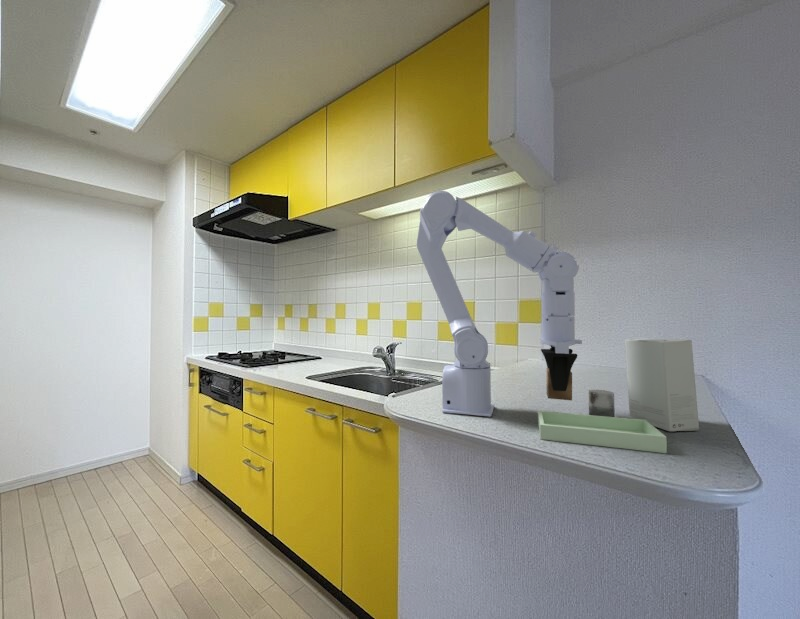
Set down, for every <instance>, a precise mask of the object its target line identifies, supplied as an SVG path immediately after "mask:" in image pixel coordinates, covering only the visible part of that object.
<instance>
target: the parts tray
mask: <svg viewBox="0 0 800 619" xmlns="http://www.w3.org/2000/svg"><path fill="white" fill-rule="evenodd" d="M537 426H538V431H539V432H538V433H539V437H540V440H544V441H554V442H562V443H563V442H564V443H573V444H582V445H588V446H589V445H590V446H599V447H601V446H602V447H608V448H616V449H617V448H618V449H625V450H626V449H627V450H634V451H635V450H636V451H643V452H654V453H662V454H667V453H668V452H667V449H668V448H667V447H668V446H667V444H668V443H667V436H666V435H665V434H664V433H662V432H661V431H660V430H659V429H657V427H655V426H653V425H651V424H650V423H649V422H648V421H647V420H642V419H631V418H630V417H629V418H627V417H617V416H615V417H607V416H595V415H589V414H583V413H582V414H581V413H570V412H569V413H568V412H559V411H557V412H556V411H547V410H537Z"/></svg>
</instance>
